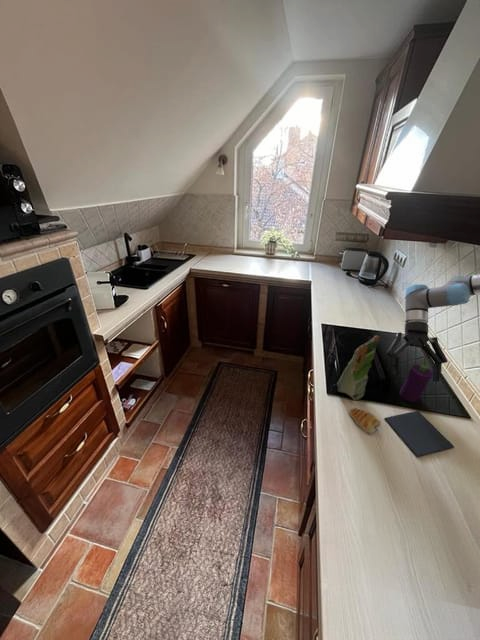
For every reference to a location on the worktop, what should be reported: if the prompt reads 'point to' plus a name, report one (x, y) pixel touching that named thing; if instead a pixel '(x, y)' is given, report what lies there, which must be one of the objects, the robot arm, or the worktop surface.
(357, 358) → the pouch
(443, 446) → the mat
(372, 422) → the pastry
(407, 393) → the aubergine
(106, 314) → the worktop surface
